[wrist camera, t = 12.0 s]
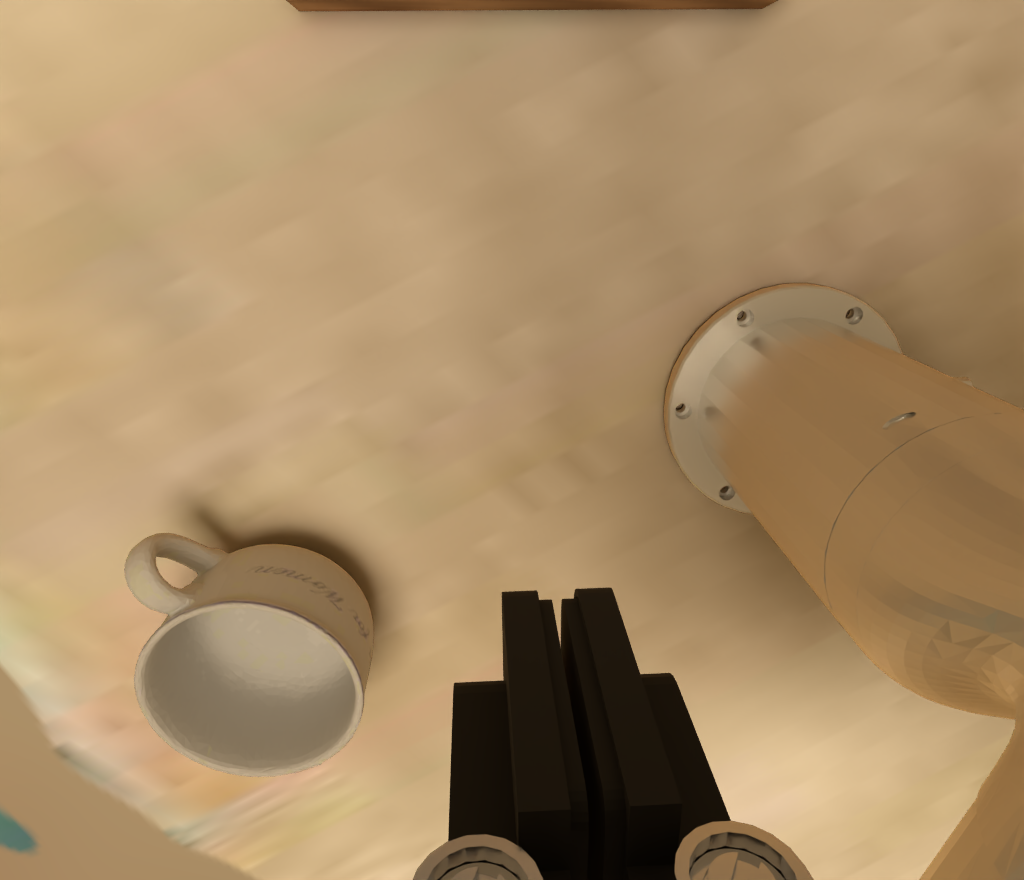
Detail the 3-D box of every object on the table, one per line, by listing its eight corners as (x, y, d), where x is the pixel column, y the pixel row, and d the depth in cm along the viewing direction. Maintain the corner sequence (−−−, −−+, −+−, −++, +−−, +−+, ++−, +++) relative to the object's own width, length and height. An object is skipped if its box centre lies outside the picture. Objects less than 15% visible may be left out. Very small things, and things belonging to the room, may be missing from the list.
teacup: (413, 641, 43) (401, 741, 36) (251, 703, 44) (207, 814, 37) (298, 441, 38) (257, 510, 31) (120, 517, 39) (37, 601, 32)
